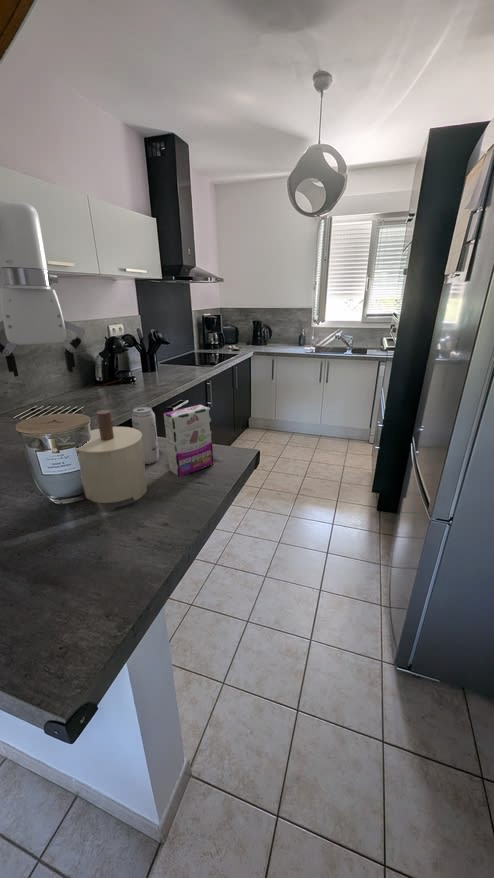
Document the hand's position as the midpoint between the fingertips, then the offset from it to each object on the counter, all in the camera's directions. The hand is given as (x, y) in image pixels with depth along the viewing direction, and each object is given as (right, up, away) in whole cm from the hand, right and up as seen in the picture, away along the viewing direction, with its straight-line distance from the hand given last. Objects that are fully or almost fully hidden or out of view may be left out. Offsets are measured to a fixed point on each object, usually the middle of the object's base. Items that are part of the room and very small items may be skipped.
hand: (44, 373), depth 72 cm
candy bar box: (+26, -21, +23) cm, 41 cm away
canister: (+11, -26, +11) cm, 30 cm away
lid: (+10, -14, +6) cm, 18 cm away
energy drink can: (+13, -20, +28) cm, 37 cm away
